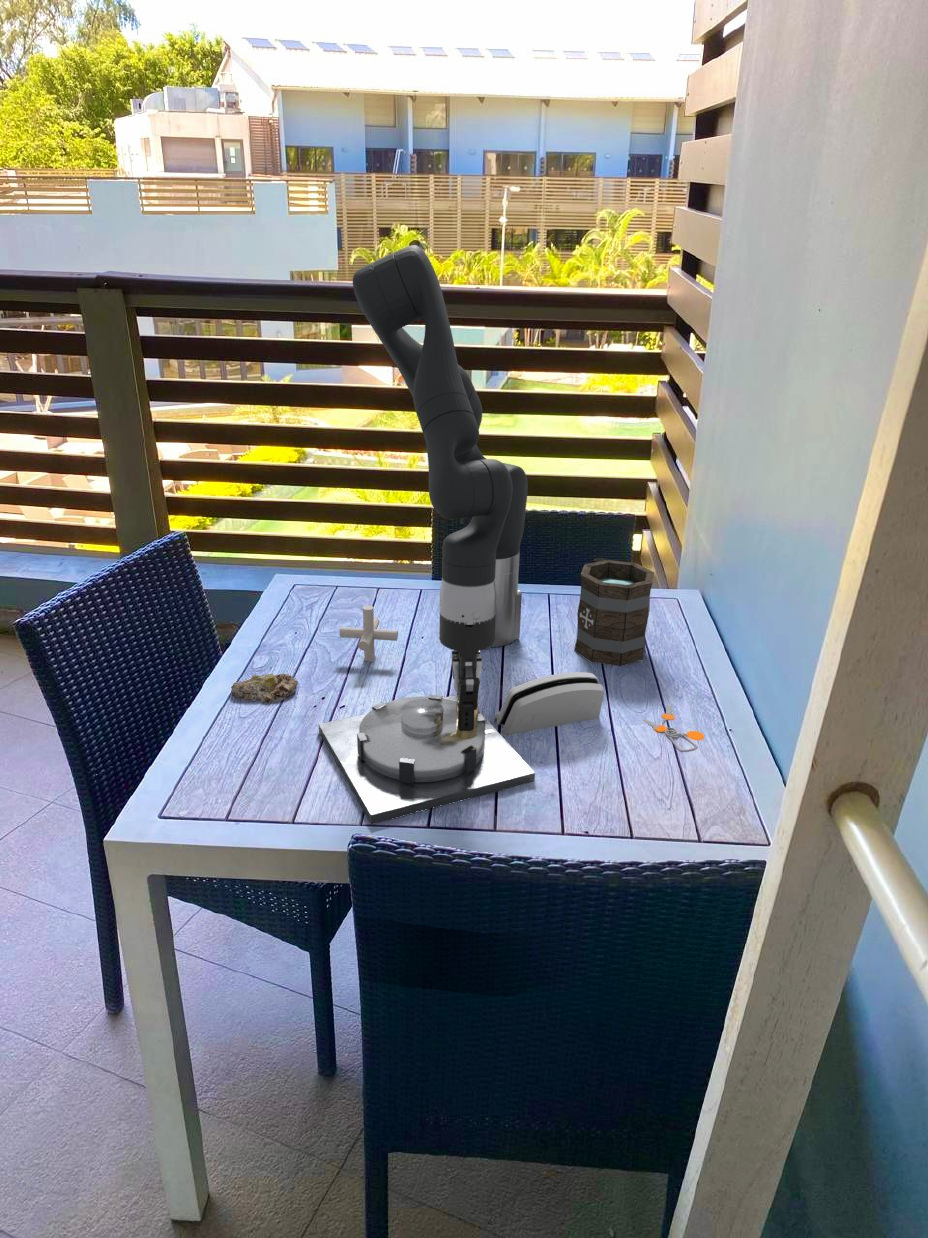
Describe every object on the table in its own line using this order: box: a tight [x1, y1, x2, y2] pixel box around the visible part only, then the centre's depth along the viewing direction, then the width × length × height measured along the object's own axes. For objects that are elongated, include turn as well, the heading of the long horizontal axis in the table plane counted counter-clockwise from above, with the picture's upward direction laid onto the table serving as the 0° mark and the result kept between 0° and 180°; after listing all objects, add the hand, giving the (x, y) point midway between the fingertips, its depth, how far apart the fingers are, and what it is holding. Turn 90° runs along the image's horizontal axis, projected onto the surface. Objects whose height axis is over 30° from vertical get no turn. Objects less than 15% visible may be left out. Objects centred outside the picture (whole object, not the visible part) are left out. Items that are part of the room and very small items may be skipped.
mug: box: [573, 557, 655, 667], centre depth 159 cm, size 20×14×15 cm
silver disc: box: [357, 694, 487, 783], centre depth 123 cm, size 18×19×9 cm
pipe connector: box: [339, 605, 399, 662], centre depth 151 cm, size 10×10×10 cm
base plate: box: [318, 694, 536, 825], centre depth 125 cm, size 24×24×2 cm
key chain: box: [642, 705, 705, 753], centre depth 134 cm, size 13×7×1 cm, turn 19°
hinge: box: [493, 671, 605, 737], centre depth 133 cm, size 17×5×10 cm, turn 112°
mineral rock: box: [230, 673, 299, 703], centre depth 142 cm, size 11×4×8 cm
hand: (464, 722), depth 122 cm, fingers closed on silver disc, 3 cm apart
